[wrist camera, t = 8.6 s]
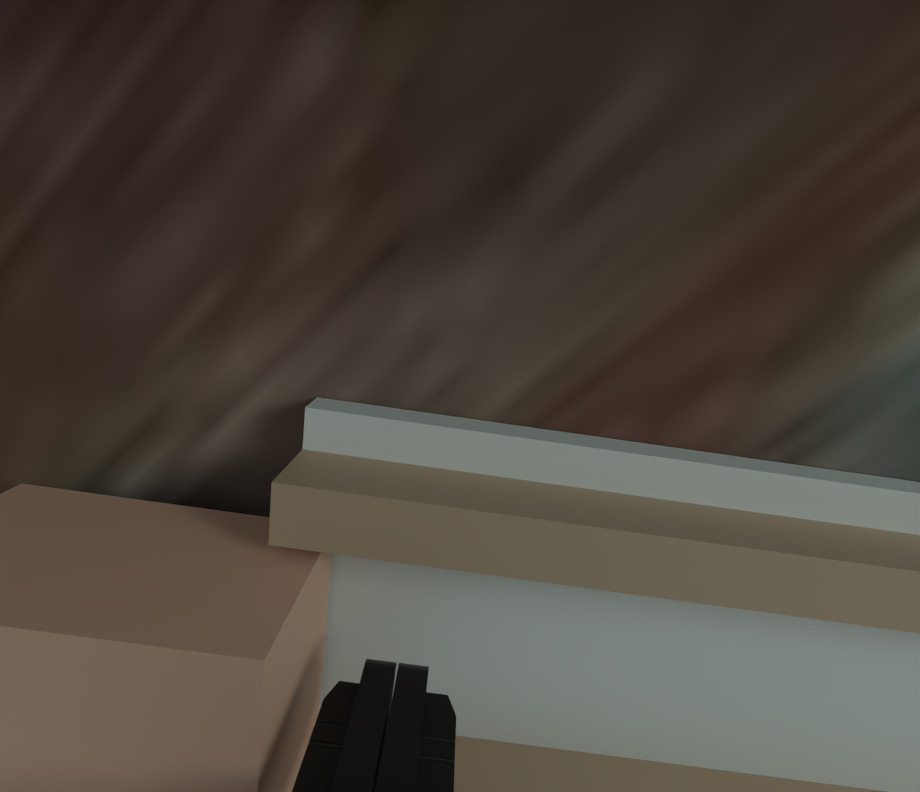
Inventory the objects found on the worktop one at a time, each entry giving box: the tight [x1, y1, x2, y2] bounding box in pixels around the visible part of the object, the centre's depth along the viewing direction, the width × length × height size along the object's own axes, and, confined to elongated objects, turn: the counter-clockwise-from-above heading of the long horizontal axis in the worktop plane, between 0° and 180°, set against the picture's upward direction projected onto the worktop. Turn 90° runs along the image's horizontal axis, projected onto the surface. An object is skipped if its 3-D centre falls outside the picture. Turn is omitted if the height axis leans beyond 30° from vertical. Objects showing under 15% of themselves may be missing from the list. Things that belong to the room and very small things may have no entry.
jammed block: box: [0, 484, 332, 792], centre depth 11 cm, size 8×6×4 cm
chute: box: [268, 397, 920, 792], centre depth 13 cm, size 22×12×3 cm, turn 82°
